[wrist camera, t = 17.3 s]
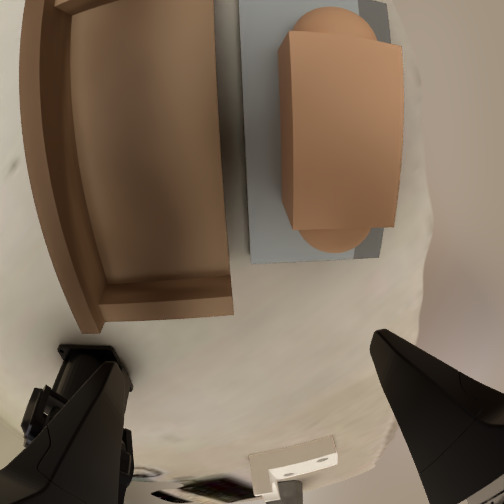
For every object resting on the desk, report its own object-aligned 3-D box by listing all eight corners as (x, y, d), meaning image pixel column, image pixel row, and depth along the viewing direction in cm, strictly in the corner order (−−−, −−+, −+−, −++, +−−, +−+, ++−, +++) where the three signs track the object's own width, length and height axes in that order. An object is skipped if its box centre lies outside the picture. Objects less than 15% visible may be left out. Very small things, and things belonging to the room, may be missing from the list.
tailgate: (250, 264, 19) (378, 257, 19) (238, -12, 11) (386, 3, 11) (250, 255, 20) (372, 249, 20) (238, -5, 12) (378, 8, 12)
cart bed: (114, 268, 20) (81, 333, 13) (83, 21, 11) (26, -8, 5) (229, 259, 20) (235, 327, 14) (213, -6, 12) (212, -62, 6)
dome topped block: (281, 234, 18) (291, 271, 14) (275, 17, 12) (285, -11, 8) (359, 231, 18) (386, 265, 14) (363, 26, 12) (396, 7, 8)
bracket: (259, 465, 40) (264, 502, 33) (248, 453, 36) (254, 495, 30) (332, 447, 40) (343, 483, 33) (331, 433, 36) (344, 474, 30)
